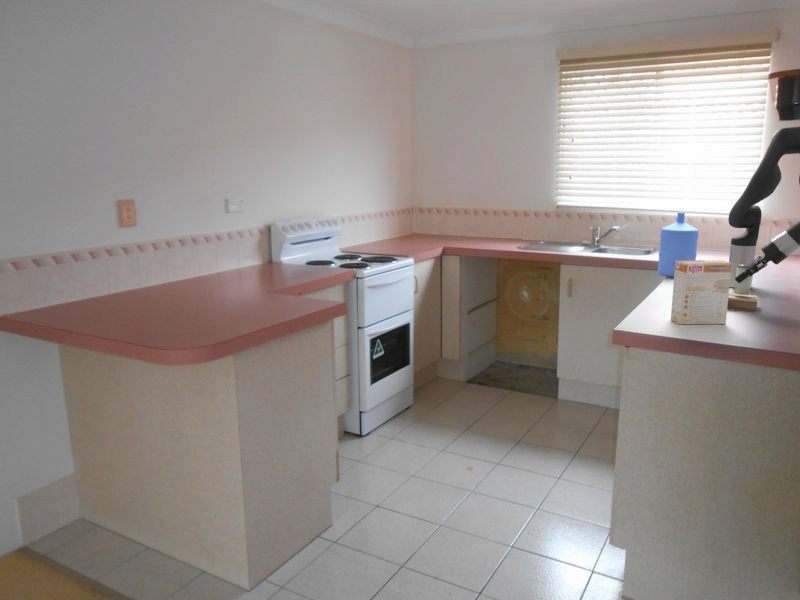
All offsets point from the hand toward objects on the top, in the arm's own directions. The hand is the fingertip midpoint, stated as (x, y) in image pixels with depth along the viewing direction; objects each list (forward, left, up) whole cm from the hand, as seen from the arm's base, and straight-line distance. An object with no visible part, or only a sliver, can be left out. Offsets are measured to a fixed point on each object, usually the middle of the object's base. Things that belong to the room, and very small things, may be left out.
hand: (737, 279), depth 229 cm
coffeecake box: (+31, -9, -10) cm, 34 cm away
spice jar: (0, +2, -5) cm, 5 cm away
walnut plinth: (0, +2, -10) cm, 10 cm away
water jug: (-64, -26, -10) cm, 70 cm away
